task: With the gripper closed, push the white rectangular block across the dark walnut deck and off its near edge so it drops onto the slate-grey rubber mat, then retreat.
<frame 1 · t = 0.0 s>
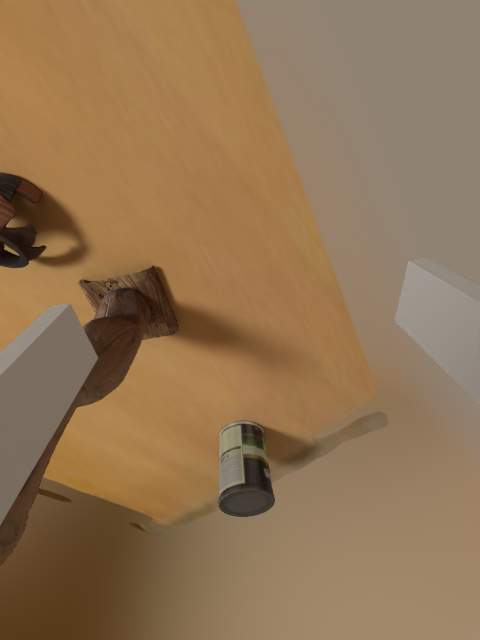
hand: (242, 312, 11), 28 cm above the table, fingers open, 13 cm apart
pottery mug: (9, 209, 34), on the table
coffee can: (241, 434, 61), on the table
brown tall tapered piece: (133, 303, 42), on the table
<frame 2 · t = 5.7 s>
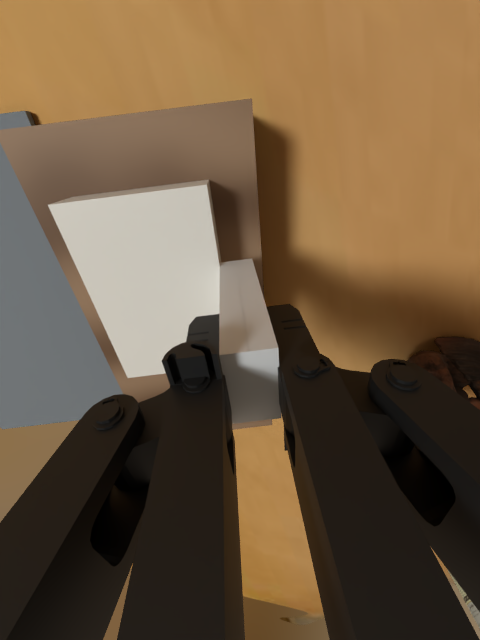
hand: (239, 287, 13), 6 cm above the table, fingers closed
pottery mug: (420, 369, 25), on the table
coffee can: (467, 550, 52), on the table
mat: (13, 317, 19), on the table
deck: (187, 296, 19), on the table
white rectangular block: (166, 282, 14), point 4 cm above the table
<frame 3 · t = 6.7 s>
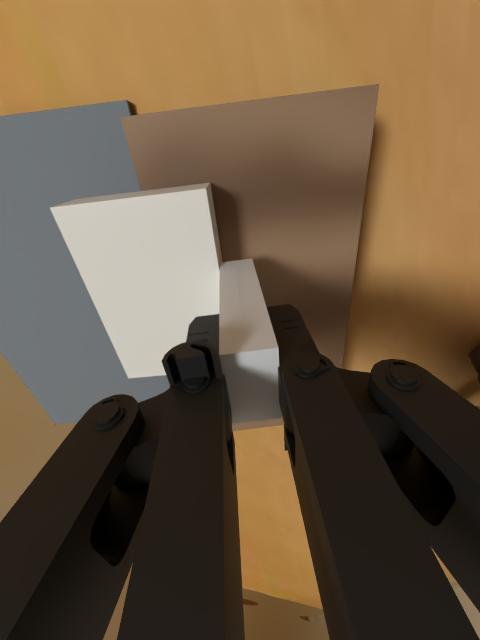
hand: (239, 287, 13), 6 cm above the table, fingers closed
pottery mug: (477, 362, 25), on the table
mat: (82, 310, 19), on the table
deck: (256, 289, 19), on the table
white rectangular block: (168, 284, 14), point 4 cm above the table, touching deck, gripper
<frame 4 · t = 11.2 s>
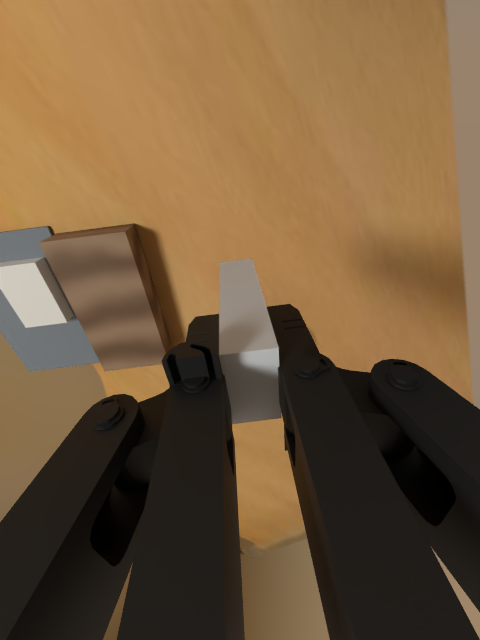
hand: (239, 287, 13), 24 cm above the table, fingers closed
mat: (38, 308, 39), on the table
deck: (122, 298, 39), on the table
white rectangular block: (29, 297, 36), point 2 cm above the table, tilted 180°, touching mat
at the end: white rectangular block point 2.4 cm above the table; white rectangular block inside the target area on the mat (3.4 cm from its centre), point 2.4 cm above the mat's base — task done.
